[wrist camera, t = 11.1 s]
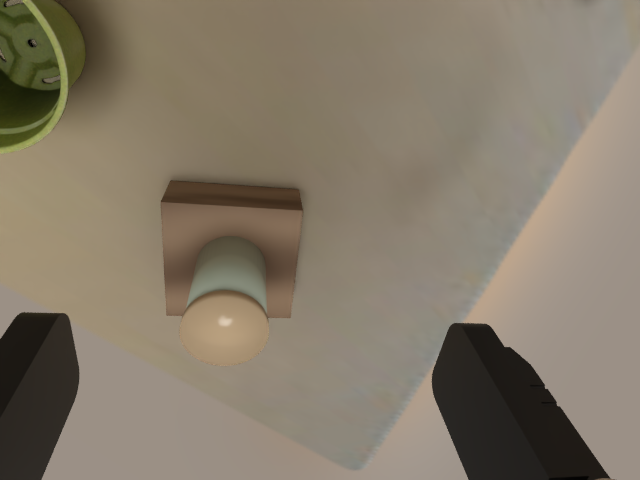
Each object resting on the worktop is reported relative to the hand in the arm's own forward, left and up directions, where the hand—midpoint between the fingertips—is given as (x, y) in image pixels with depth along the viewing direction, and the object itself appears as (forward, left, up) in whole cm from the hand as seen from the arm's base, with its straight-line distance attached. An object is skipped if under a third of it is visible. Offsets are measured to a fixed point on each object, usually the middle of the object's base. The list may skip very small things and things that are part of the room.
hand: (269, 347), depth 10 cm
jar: (+12, -2, -22) cm, 25 cm away
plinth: (+12, -2, -26) cm, 29 cm away
